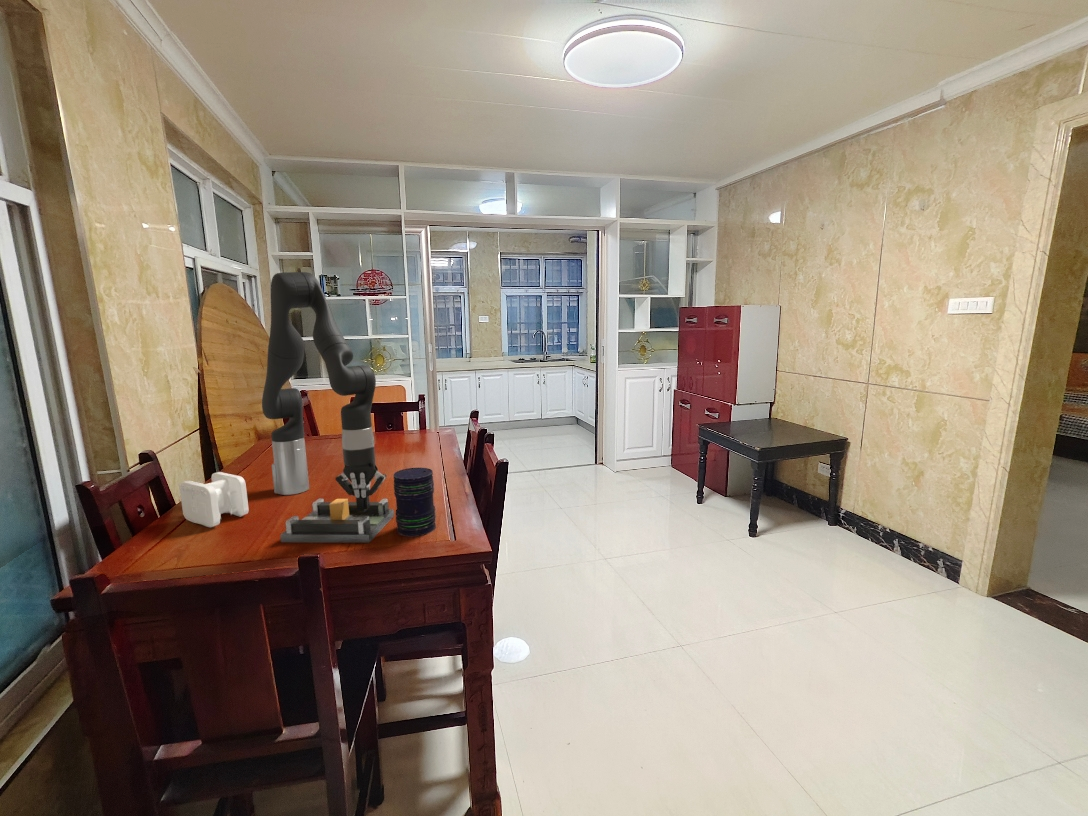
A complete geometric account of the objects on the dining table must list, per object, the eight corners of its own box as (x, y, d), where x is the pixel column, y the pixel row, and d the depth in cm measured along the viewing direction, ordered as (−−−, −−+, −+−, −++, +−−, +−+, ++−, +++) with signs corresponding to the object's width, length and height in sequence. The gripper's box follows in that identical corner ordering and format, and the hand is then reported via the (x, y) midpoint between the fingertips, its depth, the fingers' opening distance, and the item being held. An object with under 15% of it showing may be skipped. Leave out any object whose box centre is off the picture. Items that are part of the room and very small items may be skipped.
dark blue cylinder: (399, 539, 118) (395, 480, 116) (394, 525, 127) (390, 470, 125) (439, 532, 122) (436, 475, 120) (432, 518, 131) (429, 465, 129)
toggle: (328, 523, 123) (326, 504, 123) (336, 517, 128) (334, 498, 127) (344, 523, 123) (343, 504, 122) (352, 517, 128) (350, 498, 127)
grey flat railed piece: (281, 542, 118) (278, 522, 117) (316, 515, 135) (315, 498, 134) (369, 542, 117) (367, 522, 116) (394, 515, 134) (392, 498, 133)
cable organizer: (252, 517, 135) (247, 477, 133) (212, 531, 126) (206, 488, 124) (221, 509, 142) (216, 470, 140) (181, 521, 133) (175, 481, 131)
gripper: (325, 448, 119) (331, 515, 121) (378, 448, 118) (383, 515, 121) (339, 441, 126) (345, 505, 129) (389, 441, 125) (393, 505, 128)
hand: (363, 510), depth 125 cm, fingers closed
